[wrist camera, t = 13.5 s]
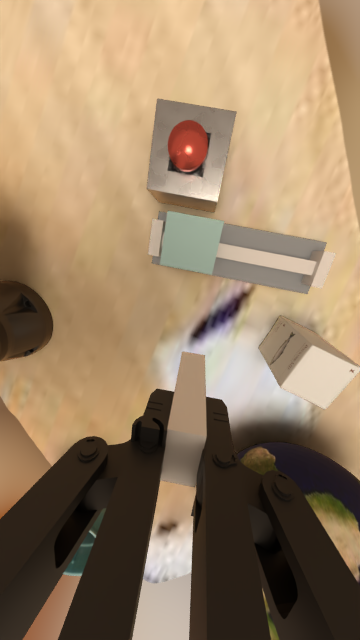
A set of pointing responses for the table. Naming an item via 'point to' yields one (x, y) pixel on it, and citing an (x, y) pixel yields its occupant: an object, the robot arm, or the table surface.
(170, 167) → the grey boxy piece
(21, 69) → the table surface
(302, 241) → the rail
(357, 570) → the globe
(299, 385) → the supplement box
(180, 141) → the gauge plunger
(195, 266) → the sage green rectangular prism
